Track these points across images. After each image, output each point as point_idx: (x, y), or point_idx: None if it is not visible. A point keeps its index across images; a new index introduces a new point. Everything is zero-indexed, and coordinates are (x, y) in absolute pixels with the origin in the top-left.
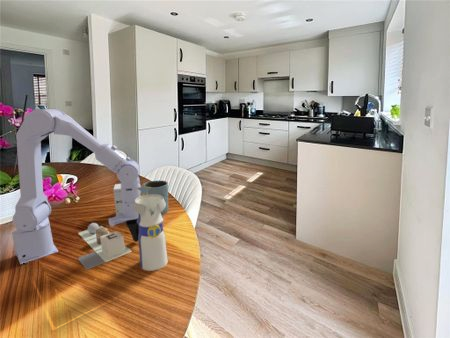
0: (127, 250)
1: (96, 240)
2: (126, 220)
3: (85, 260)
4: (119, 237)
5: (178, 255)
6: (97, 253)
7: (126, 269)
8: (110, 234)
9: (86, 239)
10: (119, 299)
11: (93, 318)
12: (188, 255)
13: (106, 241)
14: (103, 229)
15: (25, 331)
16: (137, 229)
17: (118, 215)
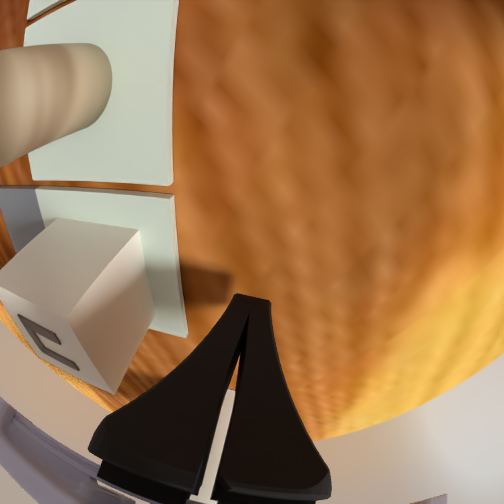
0: (168, 317)
1: (57, 42)
2: (112, 491)
3: (16, 232)
4: (92, 383)
5: (305, 424)
6: (42, 218)
7: (138, 369)
8: (34, 318)
9: (35, 1)
10: (113, 396)
11: (78, 383)
12: (321, 432)
13: (35, 351)
14: (1, 101)
15: (8, 327)
16: (228, 426)
17: (23, 484)
